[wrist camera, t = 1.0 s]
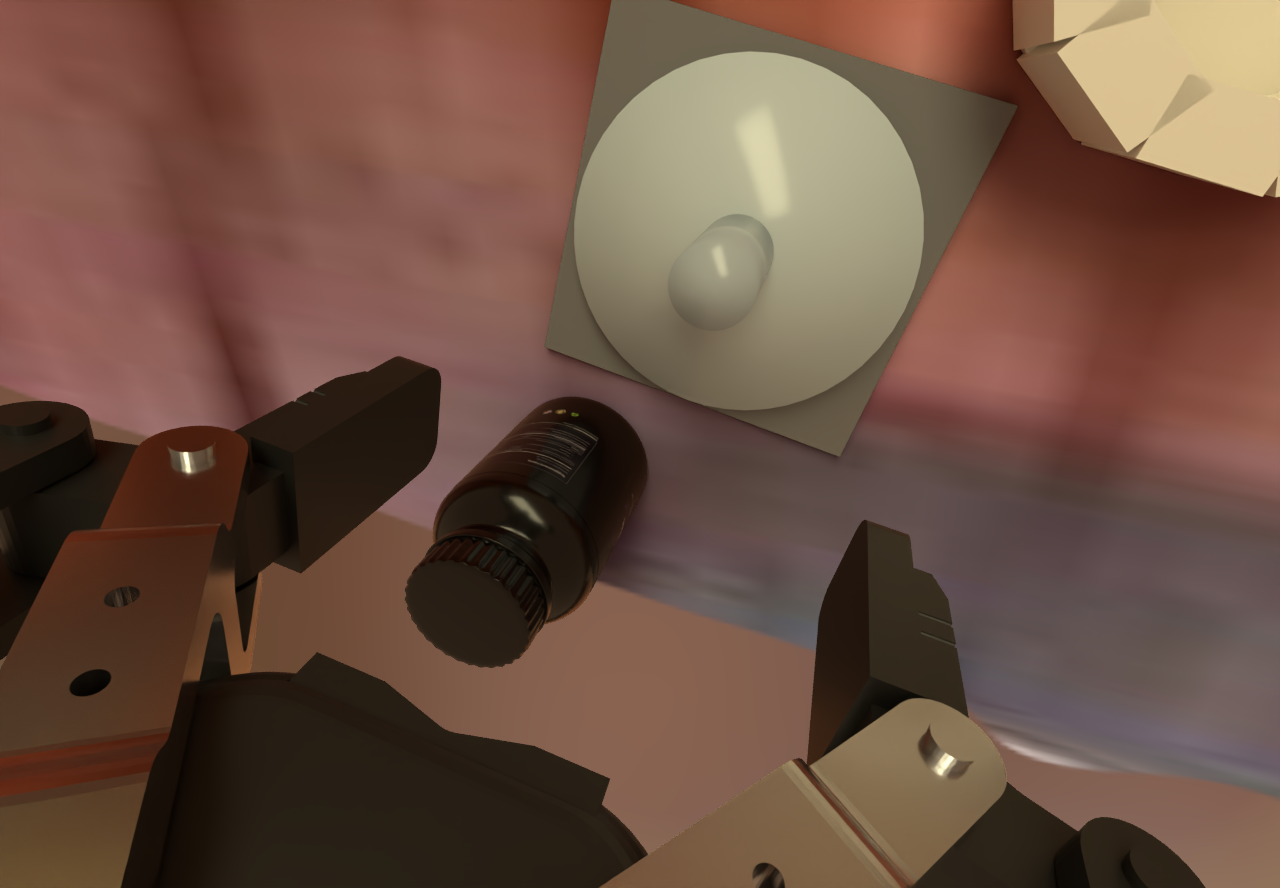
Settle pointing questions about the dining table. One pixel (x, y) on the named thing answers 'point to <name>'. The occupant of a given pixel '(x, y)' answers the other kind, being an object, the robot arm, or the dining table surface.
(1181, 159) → the bowl
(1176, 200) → the dining table surface
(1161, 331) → the dining table surface
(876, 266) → the lid
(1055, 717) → the dining table surface
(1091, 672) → the dining table surface
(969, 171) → the mat
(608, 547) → the supplement bottle
